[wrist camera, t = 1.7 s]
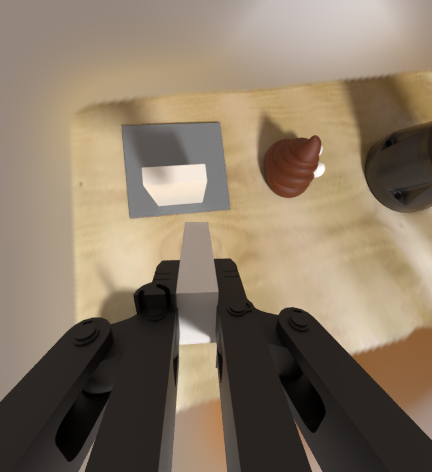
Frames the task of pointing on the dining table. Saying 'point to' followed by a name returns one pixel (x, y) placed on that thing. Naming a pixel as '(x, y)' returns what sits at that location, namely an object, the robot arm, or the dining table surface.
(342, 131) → the dining table surface
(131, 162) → the slate board
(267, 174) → the poop emoji
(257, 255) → the dining table surface
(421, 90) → the dining table surface
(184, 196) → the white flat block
